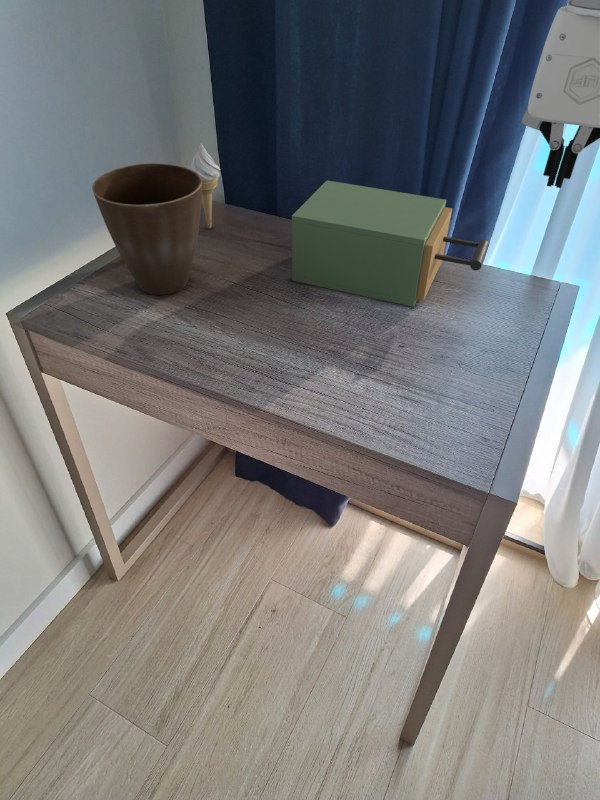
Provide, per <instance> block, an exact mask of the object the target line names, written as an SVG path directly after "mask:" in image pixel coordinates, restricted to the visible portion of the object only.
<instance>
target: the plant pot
mask: <svg viewBox="0 0 600 800" xmlns="http://www.w3.org/2000/svg"><path fill="white" fill-rule="evenodd" d="M91 191H92V193H93V196H94V198H95V201H96V204H97V206H98V210H99V211H100V214H101V216H102V219H103V221H104V225H105V227H106V229H107V231H108V233H109V235H110V238H111V239H112V241H113V244H114V245H115V247H116V249H117V251H118V253H119V255H120V258H121V259H122V261H123V262H124V264H125V265H126V267H127V269H128V271H129V273H130V274H131V276H132V277H133V279H134V281H135V282H136V284H137V285H138V286H139V288H140V289H141V290H142V291H143V292H145V293H147V294H149V295H155V296H166V295H171V294H175V293H178V292H180V291H181V290H183V289H184V288H185V287H186V286H187V284H188V280H189V278H190V275H191V271H192V267H193V264H194V259H195V254H196V248H197V243H198V238H199V231H200V223H201V211H202V198H201V195H202V179H201V177H200V176H199V174H198V173H196V172H195V171H193V170H191V169H189V167H186V166H183V165H177V164H172V163H159V162H156V163H155V162H154V163H153V162H152V163H149V162H148V163H137V164H130V165H126V166H121V167H117V168H115V169H112V170H110V171H107V172H105V173H104V174H102V175H100V176H99V177H97V178H96V179H95V180H94V182H93V184H92V187H91Z"/></svg>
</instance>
